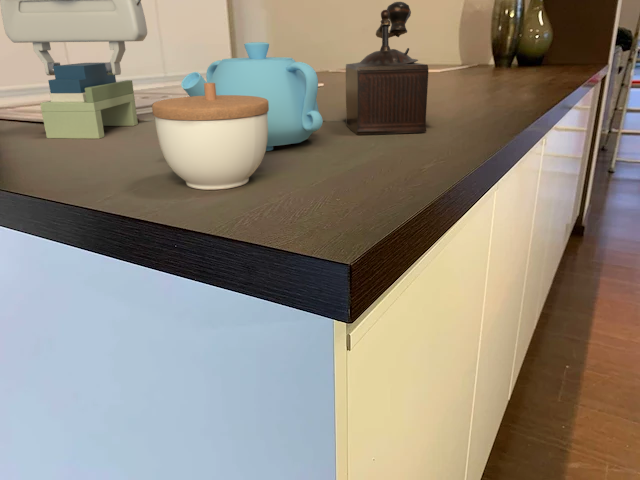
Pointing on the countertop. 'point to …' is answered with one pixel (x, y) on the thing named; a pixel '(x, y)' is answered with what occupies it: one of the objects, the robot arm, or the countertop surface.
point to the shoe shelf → (91, 112)
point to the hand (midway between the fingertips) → (83, 75)
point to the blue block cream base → (77, 81)
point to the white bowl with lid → (212, 137)
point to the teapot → (268, 90)
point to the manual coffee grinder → (387, 84)
